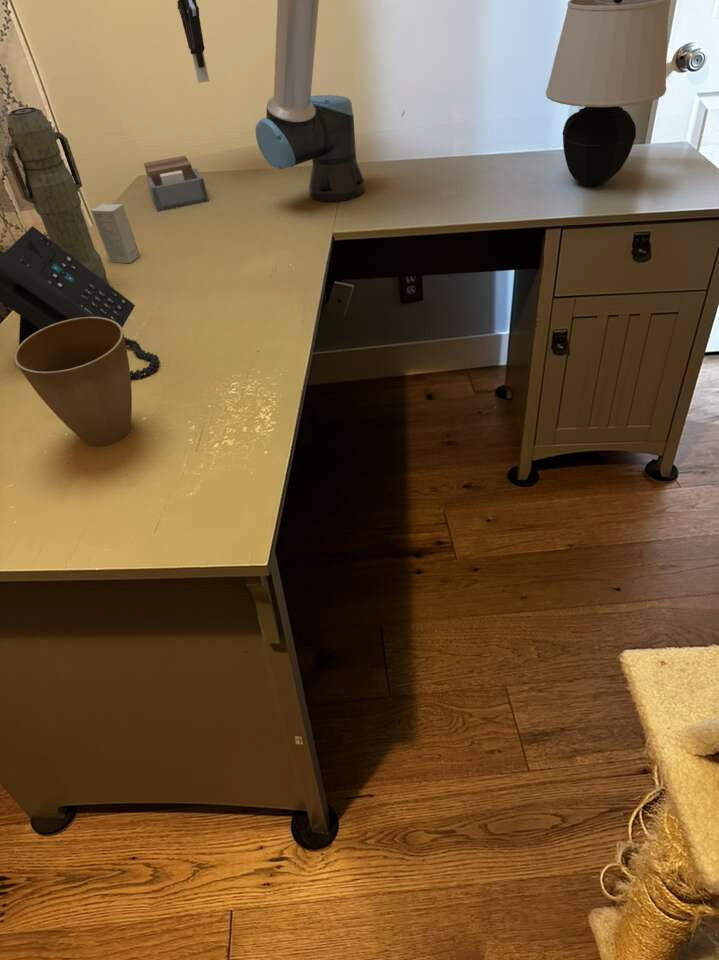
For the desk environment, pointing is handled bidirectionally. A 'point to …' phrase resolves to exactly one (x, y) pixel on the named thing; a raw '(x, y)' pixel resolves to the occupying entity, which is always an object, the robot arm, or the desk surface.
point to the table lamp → (607, 79)
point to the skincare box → (115, 233)
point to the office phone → (59, 291)
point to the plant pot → (82, 376)
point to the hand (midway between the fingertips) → (203, 81)
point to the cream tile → (172, 177)
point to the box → (178, 192)
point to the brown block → (168, 168)
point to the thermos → (51, 184)
